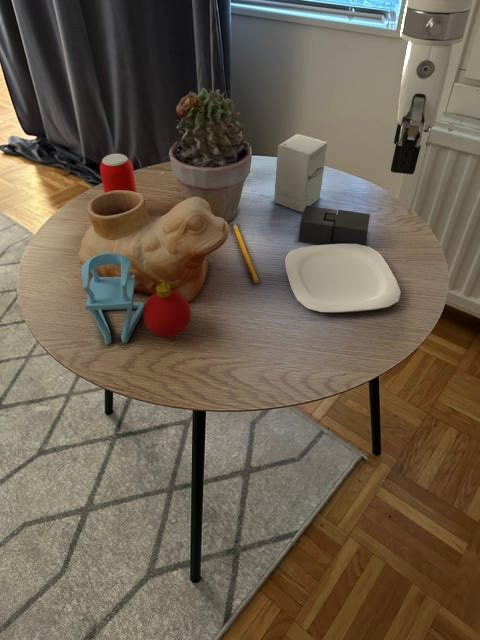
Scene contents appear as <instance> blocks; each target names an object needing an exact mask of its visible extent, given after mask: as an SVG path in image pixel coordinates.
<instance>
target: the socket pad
mask: <svg viewBox="0 0 480 640" xmlns="http://www.w3.org/2000/svg"><path fill="white" fill-rule="evenodd" d="M337 213H338V209H333V208H326V207H321V206H320V207H319V206H313V205H310V206H306V207H305V210H304V211H303V212H302V216H301V219H300V224H299V225H300V226H299V233H298V242H299V243H304V244H311V245H329V244H331V243H332V240H331V238H332V232H333V226H334V222H331V221H325V219H326V215H327V214H334V215H337Z"/></svg>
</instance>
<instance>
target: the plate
mask: <svg viewBox="0 0 480 640" xmlns="http://www.w3.org/2000/svg"><path fill="white" fill-rule="evenodd" d="M284 266H285V272H286V276H287V279H288V282H289V286H290V288H291V291H292V294H294V298H295V299H296V301H297V302H298V303H299V304H301V306H303V307H304V308H305V309H307V310H308V311H313V312H316V313H321V314H323V313H324V314H344V313H359V312H369V311H376V310H383V309H388V308H390V307H392V306H394V305H395V304H397V303H399V301H400V298H401V293H402V292H401V291H402V290H401V289H400V285H399V283H398V280H397V279H396V277H395V275H394V273H393V272H392V270H391V268H390V266H389V265H388V263H387V261H386V259H384V257H383V256H382V255H381V253H380V252H378V251H377V250H375V249H373V248H372V247H371V246H368V245H359V244H329V245H316V244H314V245H309V246H302V247H298V248H295V249H292V250H291V251H289V252H288V253H287V255H286V257H285V258H284Z"/></svg>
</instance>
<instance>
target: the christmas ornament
mask: <svg viewBox="0 0 480 640" xmlns="http://www.w3.org/2000/svg"><path fill="white" fill-rule="evenodd" d="M159 281H162V282H163V283H161V284H159ZM159 281H158V286H157V287H156V290H157V292H156V293H154V294H153V295H150V296H149V297H148V298H147V299H146V302H144V303H145V305H144V309H143V314H142V318H143V322H144V324H145V326H146V328H147V329H148V330H149V332H151V333H152V334H154V335H156V336H158V337H161V338H173V337H177V336H178V335H180V334H182V333H183V332H184V331H185V330H186V329H187V327H188V325H189V324H190V321H191V316H192V311H191V306H190V304H189V302H187V300H186V299H185V298H184V297H183V296H182V295H181V294H179V293H177V292H175V291H171V290H170V288H171V287H170V285H169V284H167V283H166V282H165V281H163V280H159Z"/></svg>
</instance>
